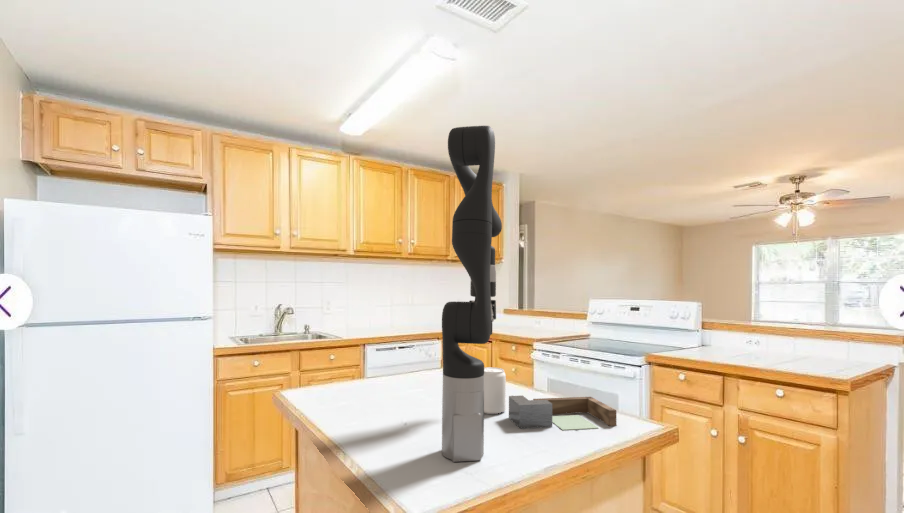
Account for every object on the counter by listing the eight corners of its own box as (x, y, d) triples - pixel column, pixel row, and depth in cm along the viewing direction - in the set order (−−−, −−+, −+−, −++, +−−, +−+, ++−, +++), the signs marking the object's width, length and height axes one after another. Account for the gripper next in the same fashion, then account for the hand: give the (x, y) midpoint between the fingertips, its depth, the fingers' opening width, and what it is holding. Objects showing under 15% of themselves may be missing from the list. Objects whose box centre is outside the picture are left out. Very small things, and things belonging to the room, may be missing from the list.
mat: (598, 428, 115) (598, 427, 115) (562, 430, 114) (562, 429, 114) (578, 415, 126) (578, 415, 126) (545, 417, 124) (545, 416, 124)
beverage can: (506, 415, 126) (507, 372, 126) (478, 415, 126) (478, 372, 126) (504, 407, 134) (504, 367, 134) (477, 406, 134) (477, 366, 135)
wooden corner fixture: (616, 425, 118) (616, 410, 118) (552, 428, 115) (552, 413, 115) (590, 410, 132) (590, 396, 132) (533, 412, 128) (533, 398, 129)
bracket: (519, 428, 115) (519, 405, 115) (508, 417, 123) (508, 396, 124) (552, 426, 116) (552, 403, 117) (539, 416, 125) (539, 394, 125)
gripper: (484, 280, 123) (484, 339, 122) (504, 281, 136) (503, 334, 135) (460, 280, 127) (460, 337, 126) (481, 281, 139) (481, 333, 138)
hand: (482, 335), depth 130 cm, fingers open, 8 cm apart
